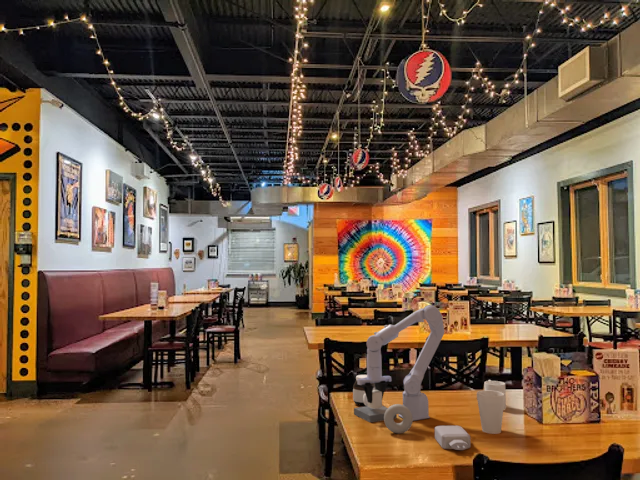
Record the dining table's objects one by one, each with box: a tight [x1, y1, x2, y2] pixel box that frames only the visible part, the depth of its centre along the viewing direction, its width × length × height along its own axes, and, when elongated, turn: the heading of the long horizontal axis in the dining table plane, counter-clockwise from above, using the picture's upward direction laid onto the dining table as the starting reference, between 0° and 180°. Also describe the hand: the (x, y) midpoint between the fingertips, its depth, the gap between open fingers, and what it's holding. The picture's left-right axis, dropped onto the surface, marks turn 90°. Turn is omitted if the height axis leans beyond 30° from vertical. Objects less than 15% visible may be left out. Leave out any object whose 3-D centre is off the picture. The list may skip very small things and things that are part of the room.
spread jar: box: [352, 374, 376, 407], centre depth 212 cm, size 12×11×12 cm
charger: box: [434, 425, 472, 451], centre depth 160 cm, size 5×9×15 cm
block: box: [368, 389, 383, 409], centre depth 195 cm, size 4×4×6 cm
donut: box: [383, 403, 413, 435], centre depth 174 cm, size 10×4×10 cm, turn 82°
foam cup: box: [476, 389, 505, 435], centre depth 177 cm, size 10×9×13 cm
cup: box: [483, 379, 507, 411], centre depth 209 cm, size 8×12×10 cm
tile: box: [353, 405, 398, 423], centre depth 195 cm, size 12×12×2 cm
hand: (374, 401), depth 195 cm, fingers closed on block, 4 cm apart
